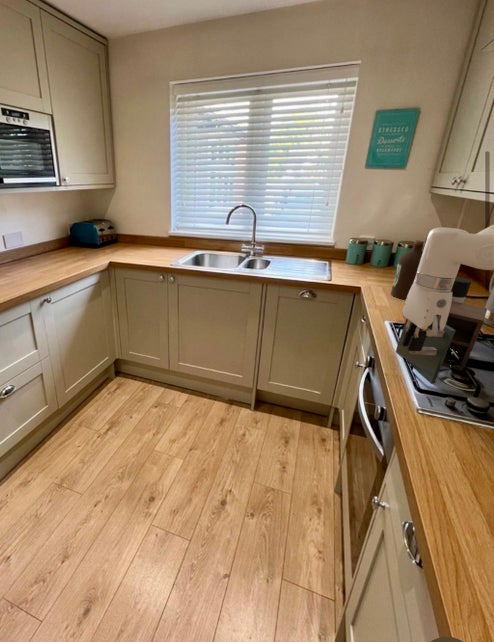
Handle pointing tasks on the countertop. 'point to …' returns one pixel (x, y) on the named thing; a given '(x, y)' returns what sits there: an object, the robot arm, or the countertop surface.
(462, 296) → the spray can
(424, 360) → the door
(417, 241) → the olive oil
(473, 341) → the cupboard
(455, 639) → the countertop surface
